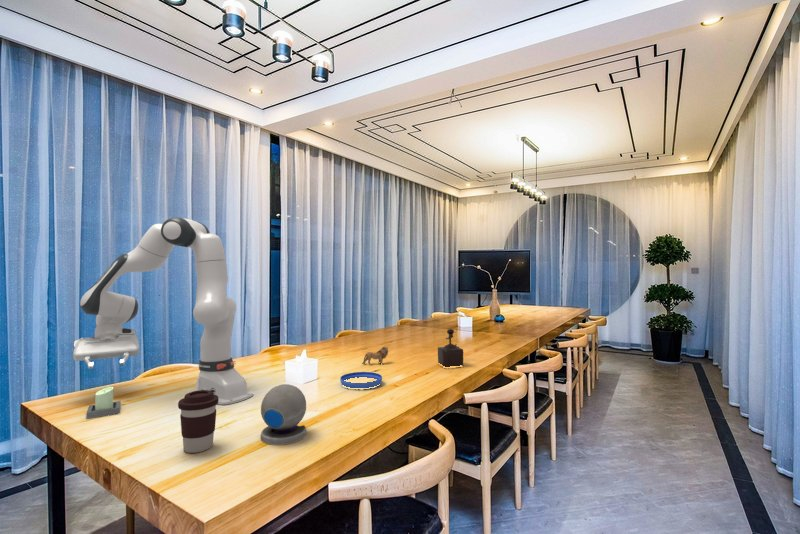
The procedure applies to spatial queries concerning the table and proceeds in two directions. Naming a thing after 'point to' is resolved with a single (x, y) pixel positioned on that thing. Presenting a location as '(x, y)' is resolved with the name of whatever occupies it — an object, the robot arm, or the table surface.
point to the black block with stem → (450, 353)
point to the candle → (104, 399)
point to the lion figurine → (376, 355)
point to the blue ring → (361, 374)
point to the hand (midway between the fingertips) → (106, 366)
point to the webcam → (283, 415)
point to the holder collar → (103, 411)
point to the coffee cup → (198, 420)
